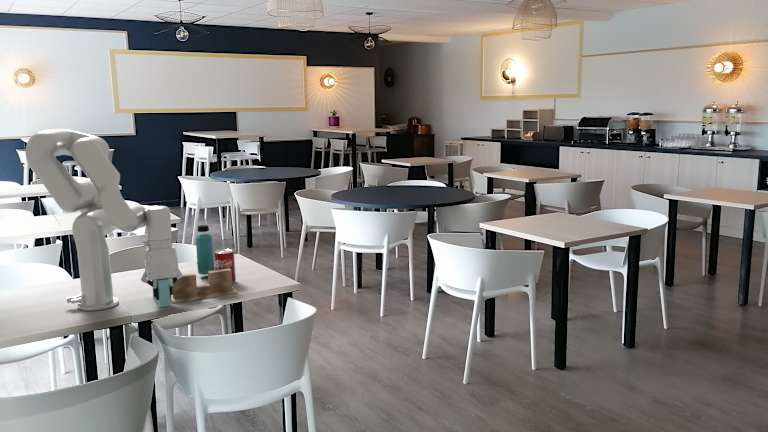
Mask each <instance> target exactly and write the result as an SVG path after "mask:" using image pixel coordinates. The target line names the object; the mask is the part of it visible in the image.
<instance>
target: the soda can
mask: <svg viewBox="0 0 768 432" xmlns="http://www.w3.org/2000/svg"><path fill="white" fill-rule="evenodd" d="M213 253H214V264H215V265H214V267H215V270H223V269H231V270H232V285H233V284H234V283H235V282H236V281H237V280H236V264H235V263H236V261H235V251H234V250H233V249H231V248H230V249H229V248H226V249H219V250H215V251H213Z"/></svg>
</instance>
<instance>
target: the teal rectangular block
mask: <svg viewBox="0 0 768 432" xmlns="http://www.w3.org/2000/svg"><path fill="white" fill-rule="evenodd" d="M157 287H158V290H159V300H157V299H156V298H155V297H154V296H153V295H152V296H153V298H154V300H155V302H156V303H157V305H158V306H159V307H160V308H167V307H171V300H170V290H169V279H168V278H167V279H159V280H157Z"/></svg>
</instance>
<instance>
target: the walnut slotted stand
mask: <svg viewBox="0 0 768 432" xmlns="http://www.w3.org/2000/svg"><path fill="white" fill-rule="evenodd" d="M207 280H208V281H207V282H208V283H206V284H199V285H198V284H197V274H196V273H195V272H194V273H187V274H186V273H185V274H183V277H181V278H180V279H178V280H177V281H176V282H175V283H174V284H173V286H172V290H173V295H171V298H170V303H172V304H180V303H186V302H192V301H198V300H205V299H210V298H211V299H212V298H217V297H225V296H230V295H231V296H232V295H238V294H239V292H238V291H237V289H235V288H234V287H233V284H232V270H231V269H223V270H215V271H208V275H207Z"/></svg>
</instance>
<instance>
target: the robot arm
mask: <svg viewBox="0 0 768 432" xmlns="http://www.w3.org/2000/svg"><path fill="white" fill-rule="evenodd" d="M110 150H111V149H110V145H109V144H108V143H107V141H106V140H105V139H104V138H102V137H100V136H96V135H92V134H87V133H83V132H79V131H76V130H71V129H65V128H56V129H45V130H41V131H40V130H39V131H38V132H35V133H33V134H32V135H31V137H30V138H29V139H28V141H27V143H26V146H25V151H24V152H25V159H26V161H27V163H28V166H29V168H30V169H31V170H32V171H33V172H34V174H35V175H36V177H37V178H38V179H39V181H41V183H42V184H43V186H44V188H45V189H46V190H47V191H48V193H49V195H50V196H51V197H52V199H53V200H54V201H55V203H56V204H57V205H58V207H59V208H60V209H61V210H62V211H64V212H65V213H68V214H69V213H70V214H72V213H76V212H80V214H79V215H77V216H76V218H75V219H74V221H73V223H72V226H71V227H72V228H71V229H72V235H73V239H74V242H75V247H76V252H77V260H78V270H79V281H80V290H81V291H80V292H79V294H77V295H75V296H68V297H67V296H66V303H67V304H70V303H71V304H77V309H78V310H81V311H87V312H88V311H90V312H91V311H100V310H106V309H110V308H112V307H115V306H117V305H119V301H120V300H119V298H118V297H116V296H114V290H113V279H112V278H113V277H112V269H111V257H110V249H109V245H108V242H107V240H106V236H107V235H109V234H111V233H113V232H114V231H115V229H116V228H118V230H119V231H122V232H125V233H132V232H134V231H137V230H139V229H141V228H144V227H146V235H147V238H146V241H143V242H142V246H143V247H147V248H146V249H145V256H144V272H143V274H142V276H141V278H140V281H141V282H142V283H144V284H148V285H149V286H150V287H151V288H152V296H154V297H155V298H156V299H157V300H159V290H158V287H157V280H159V279H167V278H168V279H169V290H170V298H171V295H173V290H172V286H173V284H174V283H175V282H176V281H177V280H178V279H180V278H181V277H183V275H184V274H183V273H182V271H181V270H180V268H179V263H178V262H179V261H178V256H177V251H176V247H175V246H173V236H172V235H173V234H172V220H171V219H172V218H171V217H172V216H171V210H170V208H169V207H168V206H166V205H154V206H153V205H152V206H151V205H145V204H144V205H143V204H134V205H132V206H129V204H128V203H127V202H126V200H125V198H124V197H123V196H122V193H121V190H120V181H121V174H120V172H119V171H118V169H117V168H116V167H115V165H114V164H113V163H112V162H111V161H110V159H109V155H110ZM59 156H69V157H72V158H73V160H74V161H75V163H76V164H77V165H78V166H79V168H80V169H81V171H82V172H83V173H84V174H85V175H86V177H87V179H88V180H89V181H90V182H89V181H87V180H75V178H74V177H73V175H71V173H70V171H69V170H68V169H67V167H66V166H65V165H63V164H62V163H61V162H60V161H59V160H58V159H57V157H59ZM154 297H153V298H154ZM155 298H154V299H155Z"/></svg>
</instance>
